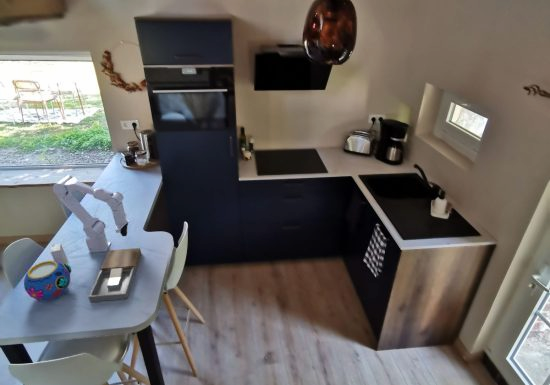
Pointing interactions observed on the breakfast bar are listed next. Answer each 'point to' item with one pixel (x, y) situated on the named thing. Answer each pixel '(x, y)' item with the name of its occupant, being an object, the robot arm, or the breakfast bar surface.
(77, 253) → the breakfast bar surface
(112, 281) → the blue grey tile
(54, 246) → the skincare box
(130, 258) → the tan wooden board
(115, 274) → the cream tile
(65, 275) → the ceramic pot
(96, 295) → the bin
